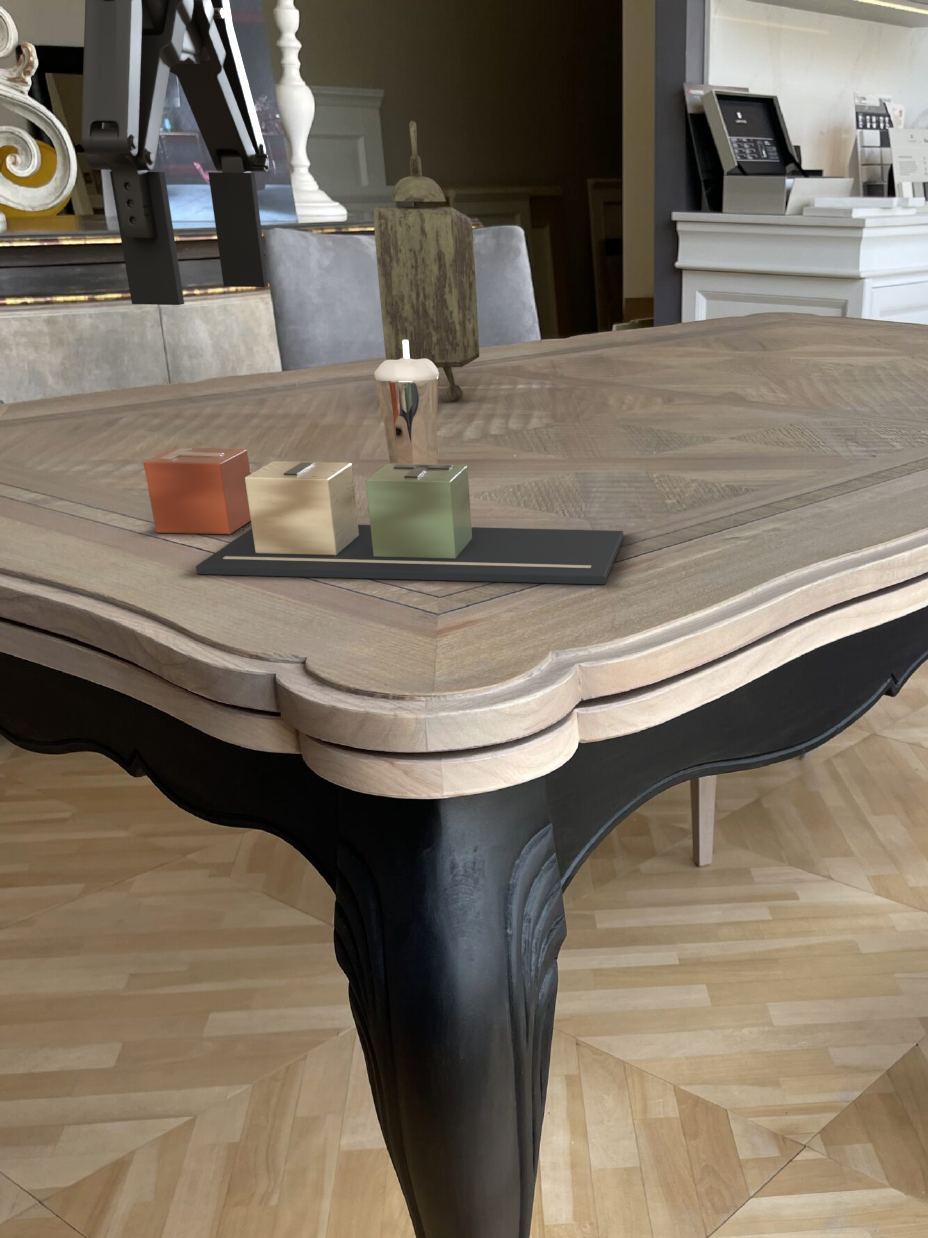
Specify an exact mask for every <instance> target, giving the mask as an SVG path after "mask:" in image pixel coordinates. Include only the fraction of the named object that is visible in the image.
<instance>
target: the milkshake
mask: <svg viewBox="0 0 928 1238" xmlns="http://www.w3.org/2000/svg"><path fill="white" fill-rule="evenodd" d="M402 345H403V358H401V359H399V360H386V359H385V360H384V361H382V362H381V364H379V366H378V367H377V368H376V370H375V371H374V376H373V377H374V380H375V386H376V390H377V396H378V402H379V407H380V411H381V416H382V422H383V427H384V432H385V439H386V446H387V451H388V458H389V463H393V464H438V416H439V415H438V414H439V388H440V387H439V386H440V385H439V383H440V373H439V369H438V368H437V367H436V366H435V365H434V363H433V362H432V361H430V360H429V359H410V352H409V340H402Z"/></svg>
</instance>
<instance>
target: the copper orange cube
mask: <svg viewBox="0 0 928 1238" xmlns="http://www.w3.org/2000/svg"><path fill="white" fill-rule="evenodd" d="M143 467H144V472H145V473H144V474H145V479H146V483H147V490H148V494H149V501H150V505H151V512H152V517H153V522H154V528H155V532H156V533H157V534H192V535H193V534H199V535H232V534H233V533H235V532H236V531H238V530H239V529H240V528H242V527H243V526H245V525H246V524H248V523H250V522H251V517H250V510H249V504H248V497H247V490H246V483H245V477H247V476H248V475H250V474H251V469H250V462H249V454H248V449H246V448H219V447H218V448H215V447H214V448H213V447H212V448H211V447H208V448H207V447H173V448H171V449H169V450H166V451H165V452H162V453H160V454H158V455H156V456H153V457H151V458H149V459H146V460H144V461H143Z"/></svg>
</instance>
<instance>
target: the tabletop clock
mask: <svg viewBox="0 0 928 1238" xmlns="http://www.w3.org/2000/svg"><path fill="white" fill-rule="evenodd" d="M408 127H409V128H408V129H409V136H410V137H409V138H410V144H411V156H409V168H410V170H409V171H410V175H408V176H405V177H401V179H399V180H398V181H397V183H396V184H395V185H394V187H393V190H392V192H391V197H390V202H412V203H413V206H382V205H381V206H379V205H377V206H376V205H375V206H374V207H373V208H374V209H373V229H374V230H373V231H374V243H375V253H376V254H375V255H376V267H377V279H378V290H379V300H380V310H381V311H380V312H381V321H382V333H383V342H384V352H385V361H386V360H399V359H401V358H403V345H402V340H409V352H410V359H429V360H430V361H432V362H433V363H434V365H435V366H436V367H437V369H438V368H442V369H443V372H444V374H445V377H446V379H447V381H448V384H449V386H448V388H447V391H446V394H447V396H448V398H449V399H450V400H451V401H454V402H459V401H460V400H461V399H463V396H464V390H463V388H462V387H461V386H460V385H459V384H456V381H455V378H454V372H453V369H452V368H463V367H465V366H467V365H468V364H470V363H471V362H473V361H475V360H476V359H479V358H480V337H479V335H480V334H479V317H478V299H477V282H476V266H475V263H476V262H475V249H474V248H475V247H474V233H473V231H474V230H473V223H472V219H471V217H469V216H467V215H466V214H464V213H462V212H460V211H459V210H457V209H455V208H454V207H453V206H424V203H426V202H428V203H429V202H430V203H431V202H446V201H447V200H446V197H445V194H444V192H443V190H442V188H441V187H440V185H439V184H438V183H437V182H436V181H435V180H434V179H433V178H430V177H427V176H425V175H423V172H422V169H423V168H422V158H421V156H420V155H418V133H417V131H418V130H417V123H416V122H415V121H414V120H410V121H409V124H408Z"/></svg>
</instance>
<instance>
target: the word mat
mask: <svg viewBox="0 0 928 1238" xmlns="http://www.w3.org/2000/svg"><path fill="white" fill-rule="evenodd" d="M471 527H472V539H471V540H470V542H469V543H468V544H467V545H466V546H465V548H464V549H463V550H462V551H461V553H460V554H459V555H458V556H457V557H456V558H455V559H448V558H407V557H374V556H373V546H372V537H371V527H370V524H358V529H359V536H358V537H357V538H356V539H354V540H353V541H352V542H351V543H350V544H349V545H348V546H346V547H345V548H344V549H343V550H342V551H341V552H340V553H338V554H337V555H297V554H257V553H256V552H255V545H254V538H253V531H252V527H251V528H250V529H249V530H247V531H245V532H244V533H243V534H241V535H240V536H238V537H236V538H235V539H234V540H232V541H231V542H229V543H228V544H226V545H224V546H223V547H222V548H220V549H219V550H217V551H216V552H214V553H213V554H212V555H210V556H209V557H207V558H205V559H204V560H203V561H201V562H200V563H198V564H197V565H195V569H196V574H197V575H217V576H219V575H220V576H253V577H255V576H256V577H292V578H293V577H295V578H297V577H298V578H327V579H329V578H330V579H331V578H332V579H333V578H335V579H341V578H342V579H367V580H368V579H370V580H372V579H373V580H375V579H376V580H406V581H407V580H410V581H413V580H414V581H445V582H446V581H447V582H449V581H451V582H492V583H525V584H526V583H528V584H563V585H564V584H565V585H566V584H567V585H600V586H601V585H603V586H604V585H606V581H607V578H608V576H609V575H610V571H611V570H612V566H613V564H614V562H615V559H616V557H617V554H618V552H619V549H620V547H621V545H622V543H623V539H624V531H623V530H608V529H607V530H606V529H605V530H603V529H561V528H560V529H559V528H523V527H522V528H521V527H520V528H518V527H517V528H515V527H479V526H478V527H477V526H476V527H473V526H471Z"/></svg>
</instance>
